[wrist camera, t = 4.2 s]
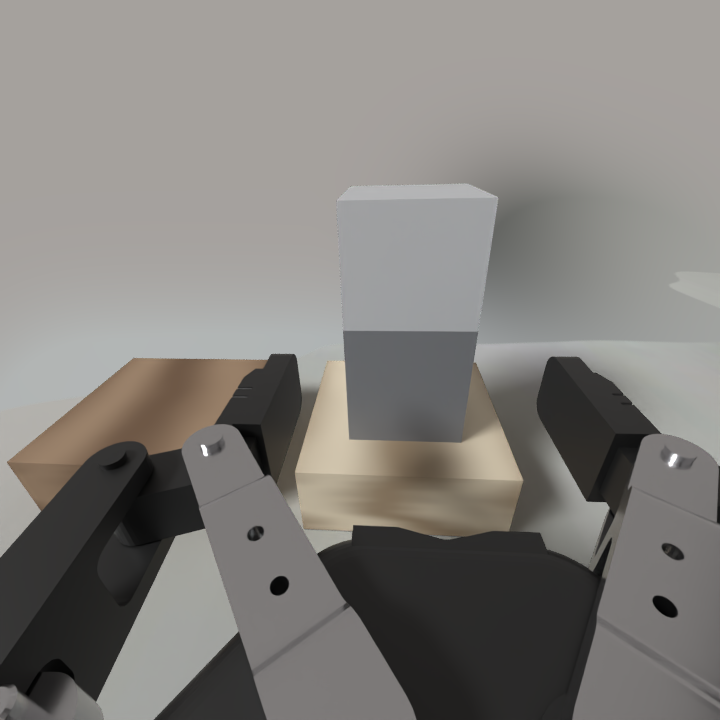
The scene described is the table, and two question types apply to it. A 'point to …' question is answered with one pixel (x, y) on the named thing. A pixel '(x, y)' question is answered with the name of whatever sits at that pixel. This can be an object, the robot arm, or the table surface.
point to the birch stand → (406, 471)
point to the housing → (412, 305)
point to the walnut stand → (131, 416)
